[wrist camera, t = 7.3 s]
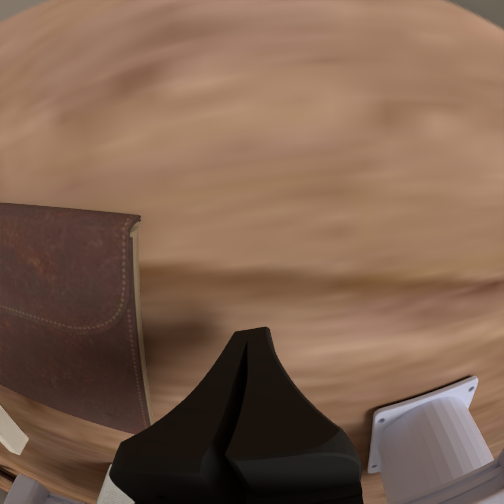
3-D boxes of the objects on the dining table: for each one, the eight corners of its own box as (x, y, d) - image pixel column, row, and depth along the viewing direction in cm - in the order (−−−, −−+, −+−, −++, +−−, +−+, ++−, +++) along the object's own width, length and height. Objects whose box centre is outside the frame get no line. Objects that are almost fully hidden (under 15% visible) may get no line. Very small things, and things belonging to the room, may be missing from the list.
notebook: (158, 423, 19) (151, 445, 17) (-30, 354, 18) (-41, 366, 17) (144, 210, 13) (126, 223, 11) (-72, 195, 13) (-89, 202, 11)
